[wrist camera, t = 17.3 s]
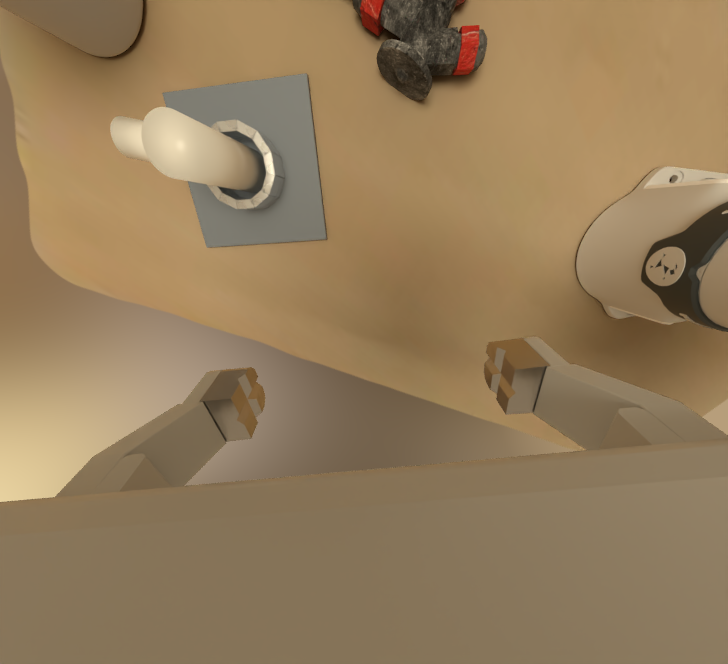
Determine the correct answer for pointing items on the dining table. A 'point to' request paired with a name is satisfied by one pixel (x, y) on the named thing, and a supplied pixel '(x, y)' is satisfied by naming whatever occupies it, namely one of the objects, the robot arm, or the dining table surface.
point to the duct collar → (272, 165)
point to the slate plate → (289, 136)
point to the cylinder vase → (85, 22)
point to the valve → (421, 42)
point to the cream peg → (189, 150)
